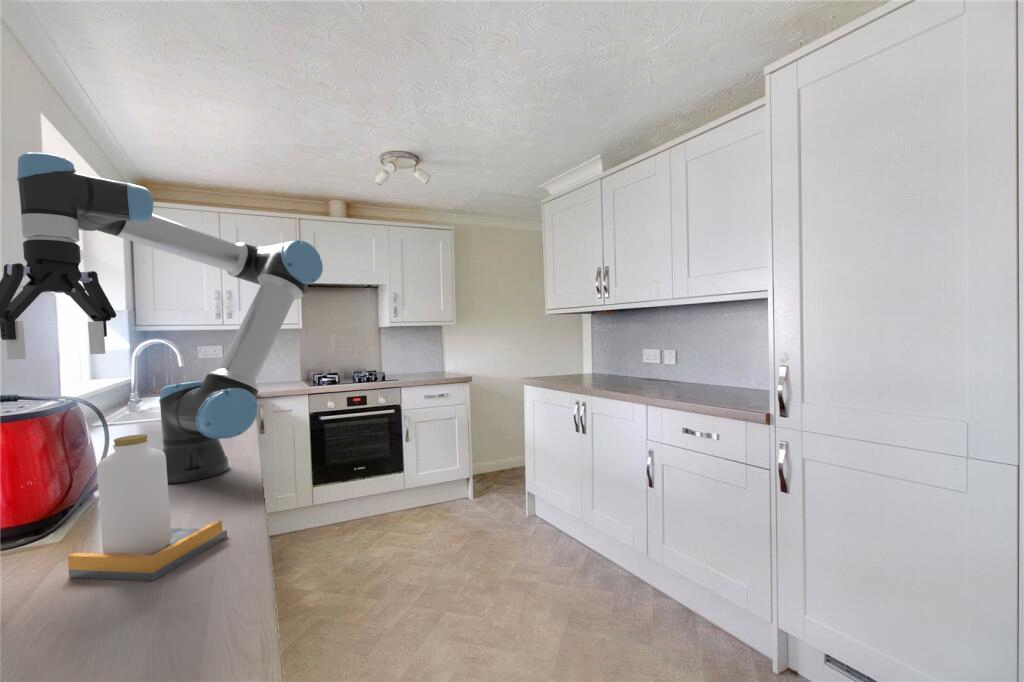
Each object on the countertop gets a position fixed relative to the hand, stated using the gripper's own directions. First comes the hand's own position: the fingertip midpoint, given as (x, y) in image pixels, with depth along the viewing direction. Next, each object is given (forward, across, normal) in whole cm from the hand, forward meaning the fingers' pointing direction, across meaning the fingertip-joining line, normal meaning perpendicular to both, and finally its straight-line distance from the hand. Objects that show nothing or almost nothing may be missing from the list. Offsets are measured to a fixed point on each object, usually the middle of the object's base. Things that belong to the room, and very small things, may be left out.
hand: (60, 356), depth 87 cm
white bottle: (+31, +12, +27) cm, 42 cm away
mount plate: (+32, +10, +28) cm, 43 cm away
